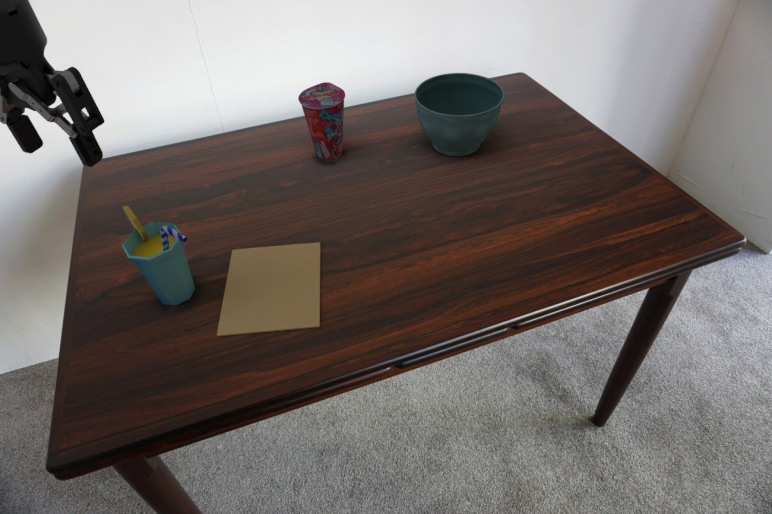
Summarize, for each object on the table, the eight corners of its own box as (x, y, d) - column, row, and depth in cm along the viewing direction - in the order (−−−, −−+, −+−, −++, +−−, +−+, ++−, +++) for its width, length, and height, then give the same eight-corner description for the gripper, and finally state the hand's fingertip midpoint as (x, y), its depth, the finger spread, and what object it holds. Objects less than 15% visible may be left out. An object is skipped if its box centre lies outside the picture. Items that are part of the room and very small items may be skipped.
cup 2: (357, 158, 100) (351, 100, 92) (315, 169, 98) (305, 111, 90) (341, 134, 107) (335, 78, 98) (301, 144, 105) (291, 88, 96)
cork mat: (217, 336, 71) (216, 335, 71) (232, 250, 83) (232, 249, 83) (319, 327, 71) (319, 326, 71) (320, 243, 84) (320, 242, 83)
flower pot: (448, 178, 95) (451, 124, 87) (398, 139, 105) (397, 88, 97) (514, 148, 101) (523, 96, 93) (461, 114, 110) (465, 65, 103)
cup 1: (234, 294, 76) (205, 216, 66) (195, 331, 72) (157, 253, 61) (168, 261, 82) (132, 184, 71) (128, 294, 77) (83, 216, 67)
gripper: (-119, 8, 45) (-12, 163, 57) (1, 24, 41) (90, 187, 53) (-43, -20, 50) (41, 128, 62) (71, -8, 46) (139, 148, 58)
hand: (64, 155), depth 57 cm, fingers open, 8 cm apart
